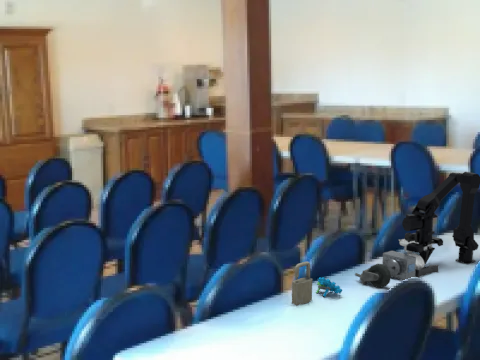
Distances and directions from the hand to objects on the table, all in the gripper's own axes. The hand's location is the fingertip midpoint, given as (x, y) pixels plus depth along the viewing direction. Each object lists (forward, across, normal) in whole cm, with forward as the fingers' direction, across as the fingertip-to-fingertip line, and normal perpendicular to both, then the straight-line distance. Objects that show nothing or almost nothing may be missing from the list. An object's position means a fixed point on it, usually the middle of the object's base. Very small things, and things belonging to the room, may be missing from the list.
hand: (423, 264), depth 293 cm
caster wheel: (+2, +34, 0) cm, 35 cm away
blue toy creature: (+2, +56, -3) cm, 56 cm away
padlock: (+1, +70, -4) cm, 70 cm away
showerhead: (+2, -12, -16) cm, 20 cm away
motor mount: (+2, +11, 0) cm, 11 cm away
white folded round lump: (+2, +7, 0) cm, 7 cm away
